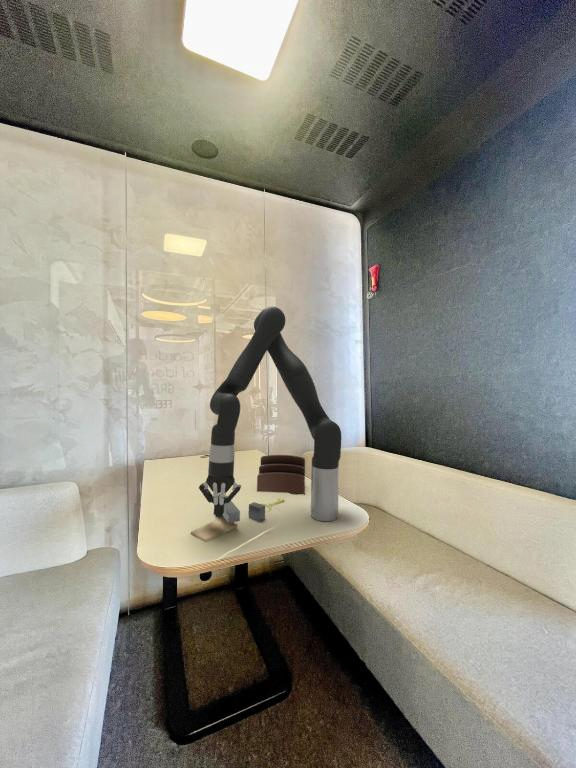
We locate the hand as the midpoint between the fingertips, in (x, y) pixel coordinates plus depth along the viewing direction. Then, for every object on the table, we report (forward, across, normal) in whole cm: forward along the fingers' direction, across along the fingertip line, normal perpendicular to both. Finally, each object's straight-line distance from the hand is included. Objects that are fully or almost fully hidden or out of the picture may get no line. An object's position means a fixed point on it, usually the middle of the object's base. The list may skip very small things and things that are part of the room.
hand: (218, 516), depth 90 cm
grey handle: (+4, -1, -6) cm, 7 cm away
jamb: (+4, -3, -9) cm, 11 cm away
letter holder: (+4, -20, -37) cm, 42 cm away
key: (+5, -15, -19) cm, 25 cm away
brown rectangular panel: (+5, +1, 0) cm, 5 cm away
